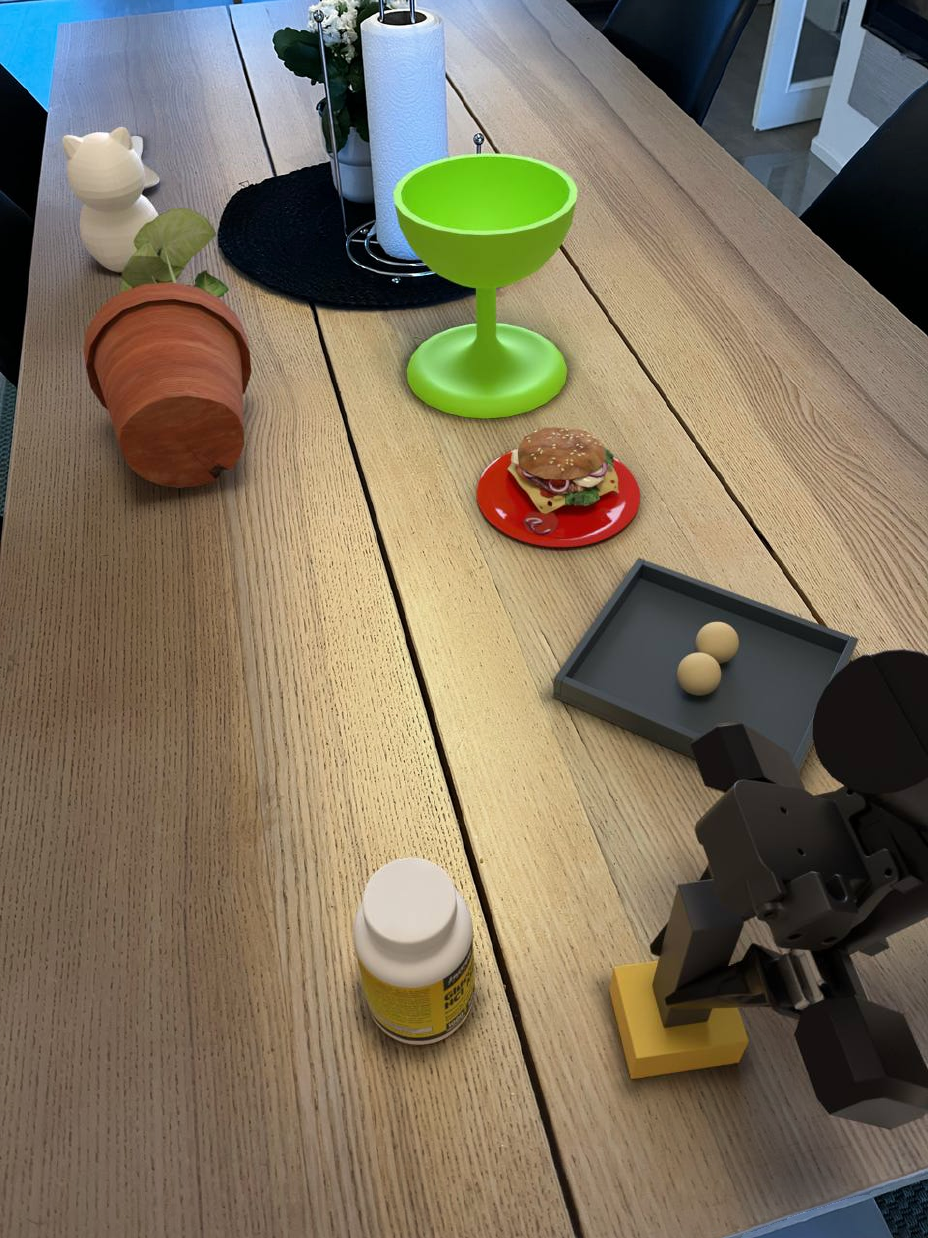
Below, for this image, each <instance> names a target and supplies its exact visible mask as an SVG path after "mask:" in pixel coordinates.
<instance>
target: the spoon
mask: <svg viewBox="0 0 928 1238" xmlns="http://www.w3.org/2000/svg"><path fill="white" fill-rule="evenodd" d="M130 137H131V140H132V144H133V147H132V148H133V149H134V150H135V152H136V153H137V155H138V156H139V158H140V160H141V163H142V165H143V168H144V173H145V185H144V190H147V189H151V188H152V187H154V186H157V184H159V182H160V177H159V175H158V174H157V173H156V172H154V171H153V170H152V169H151V168H149V167H148V166H146V165H145V164H144V163H143V160H142V155H143V151H144V141H143V140H144V139H143V137H141V136H138V135H132V136H130Z"/></svg>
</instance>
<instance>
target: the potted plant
mask: <svg viewBox="0 0 928 1238" xmlns="http://www.w3.org/2000/svg"><path fill="white" fill-rule="evenodd" d="M215 237H216V231H215V228H214V227H213V225H212V224H211V223H210V221H209V219H208V218H207V217H206V216H204V215H202V214H201V213H199V212H198V211H196V210H193V209H190V208H187V207H179V208H170V209H169V210H167V211H166V212H164V213H161V214H158V216H157V217H156V218H155V219H154V220H153V221H151V222H148V223H146V224H145V225H144V226H143V227H142V228H141V229H140V230H139V232H138V234H137V235H136V237H135V238H134V245H135V247H136V248H137V251H136V252H135V253H134V254H133V255H132V257H131V258H130V259H129V261H128V262H127V264H126V266H125V268H124V270H123V272H121V274H120V275H121V276H122V277H121V278H122V279H120V284H119V292H118V293H117V294H116V295H115V296H113V298H111V299H110V300H108V301H107V302H106V303H104V304H103V305H102V306H101V307H99V309H98V310H97V312H96V313H95V315H94V316H93V318H92V320H91V321H90V323H89V324H88V326H87V328H86V332H85V338H84V343H83V355H84V362H85V369H86V373H87V377H88V378H87V379H88V382H89V387H90V389H91V391H92V392H93V394H94V395H95V397H96V399H98V401H99V403H100V404H101V406H102V407H103V408H105V410H107V411H108V414H109V419H110V421H111V424H112V427H113V430H114V433H115V437H116V439H117V443H118V446H119V448H120V452H121V455H122V457H123V459H124V460H125V462H126V463H127V465H128V466H129V467H130V468H131V470H132V471H133V472H134V473H136V474H138V475H139V476H140V477H141V478H143V479H144V480H146V481H149V482H151V483H154V484H157V485H160V486H162V487H169V488H171V487H172V488H181V489H183V488H190V487H191V488H192V487H199V486H202V485H206V484H210V483H213V482H216V481H218V479H219V477H220V475H221V473H222V472H223V471H229V472H231V471H232V470H233V468H234V467H235V466H236V464H237V463H238V461H239V460H240V459H241V456H242V452H243V449H244V446H245V422H244V420H245V419H244V418H245V417H244V395H245V393H246V391H247V388H248V385H249V382H250V378H251V375H252V364H251V351H250V346H249V342H248V341H249V340H248V336H247V333H246V331H245V328H244V327H243V325H242V323H241V321H240V319H239V316H238V315H237V314H236V313H235V311H234V310H232V308H230V307H229V306H228V305H227V304H226V303H225V302H224V301H223V300H222V299H221V297H224V295H225V294H226V293H229V291H230V289H229V287H228V285H226V284H225V283H224V282H223V281H221V280H220V279H218V278H217V277H215V276H213V275H211V274H210V273H209V272H208V269H205V270H203V271H201V272H200V273H198V274H197V276H196V277H195V279H194V284H193V285H190V284H182V283H177V280H178V279H179V277H180V276H181V274H182V272H183V271H184V270H185V269H186V268H187V267H186V266H187V264H188V263H189V262H190V260H191V259H192V258H193V257H194V256H196V255H198V253H199V252H201V251H202V250H203V249H204V248H205V247H206V246H207V245H208V244H210V242H211V241H213V240H214V239H215Z"/></svg>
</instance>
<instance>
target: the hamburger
mask: <svg viewBox="0 0 928 1238" xmlns="http://www.w3.org/2000/svg"><path fill="white" fill-rule="evenodd" d="M476 499H477V503H478V506H479V508H480V510H481V512H482V514H483V516H485V518H486V519H487V520H488V521H489V523H491V524H492V525H493V526H494V527H495V528H497V529H498V530H499V531H501V532H502V533H504V534H506V535H508V536H510V537H511V538H513V539H516V540H519V541H522V542H525V543H528V544H532V545H537V546H542V547H549V548H550V547H551V548H571V547H572V548H573V547H581V546H586V545H589V544H594V543H597V542H600V541H604V540H606V539H608V538H611V537H612V536H613V535H616V534H617V533H619V532H621V530H623V529H624V528H625V527H627V526H628V525H629V524H630V523H631V521H632V520H633V519H634V517H635V516H636V514H637V512H638V510H639V507H640V504H641V490H640V486H639V483H638V481H637V479H636V477H635V475H634V474H633V473H632V472H631V470H630V469H629V468H628V467H627V466H626V465H625V464H624V463H623V462H621V461H620V460H619V459H617V458H615V457H614V454H613V453H612V452H611V451H610V450H609V449H608V448H606V447H605V446H604V445H603V444H602V443H601V442H600V440H599V439H598V438H596V436H594V435H593V434H592V433H590V432H588V431H587V429H578V428H566V427H565V428H564V427H556V426H553V427H544V428H541V429H538V430H537V429H536V430H534V431H533V432H530V433H528V434H527V435H524V437H523V439H522V440H521V442H520V444H519V446H518V448H515V449H513V450H510V451H508V452H506V453H504V454H502V455H501V456H499V457H498V458H496V459H495V460H493V461H492V462H491V463H490V464H489V465H488V466H487V467H486V468H485V470H484V471H483V472H482V474H481V476H480V477H479V479H478V483H477V487H476Z"/></svg>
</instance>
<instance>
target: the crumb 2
mask: <svg viewBox="0 0 928 1238" xmlns="http://www.w3.org/2000/svg"><path fill="white" fill-rule="evenodd" d="M677 678H678V681H679V683H680V685H681V687H682V688H683V689H684V690H685V691H687V692H688V693H690V694H693V695H698V696H701V695H706V694H709V693H711V692H712V691H714V690H715V689H716V688H717V686H718V685H719V683H720V680H721V669H720V666H719V664H718V662H717V661H716V660H715V659H714V658H713V657H712V656H710V655H708V654H705V653H693V654H690V655H688V656H686V657H685V658H684V659H683V660H682V661H681V663H680V664H679V667H678V670H677Z"/></svg>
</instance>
